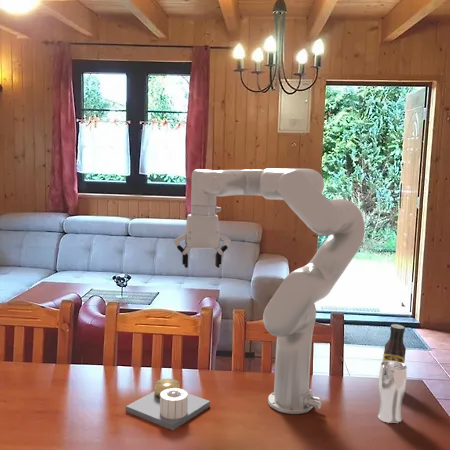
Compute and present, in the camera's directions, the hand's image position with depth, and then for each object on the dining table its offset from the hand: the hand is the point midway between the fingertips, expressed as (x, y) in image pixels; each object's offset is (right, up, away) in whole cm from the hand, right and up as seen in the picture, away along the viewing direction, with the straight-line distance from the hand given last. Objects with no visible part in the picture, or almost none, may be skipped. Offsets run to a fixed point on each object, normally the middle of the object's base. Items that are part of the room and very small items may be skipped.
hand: (201, 266), depth 162 cm
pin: (-6, -36, -23) cm, 43 cm away
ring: (-6, -36, -23) cm, 43 cm away
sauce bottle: (+57, -37, -1) cm, 68 cm away
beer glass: (+51, -39, -19) cm, 67 cm away
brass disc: (-9, -35, -13) cm, 38 cm away
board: (-8, -37, -18) cm, 42 cm away
